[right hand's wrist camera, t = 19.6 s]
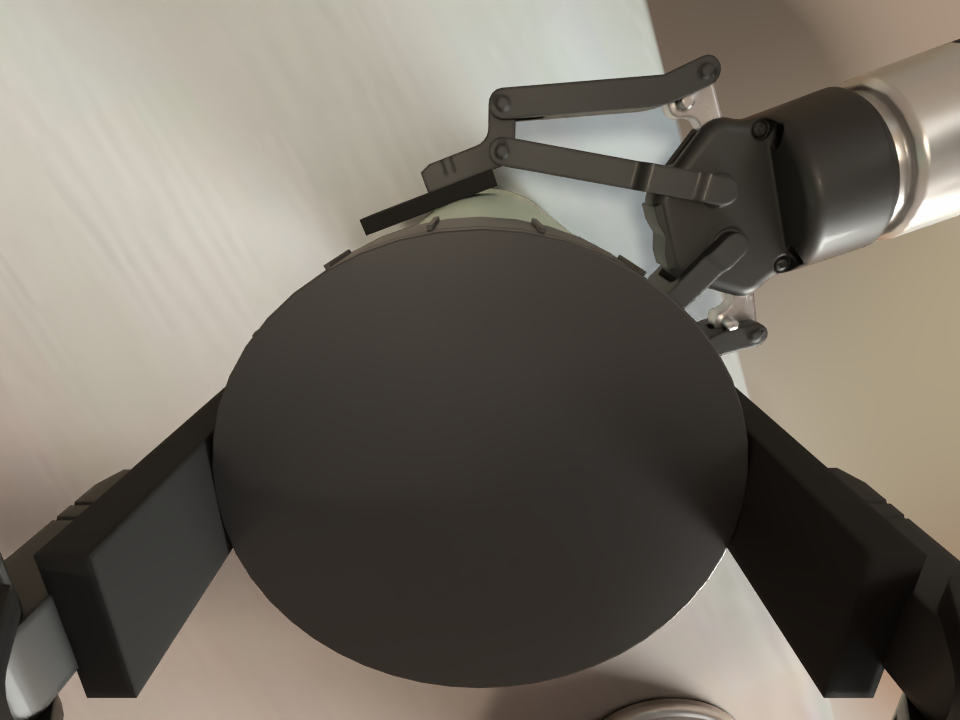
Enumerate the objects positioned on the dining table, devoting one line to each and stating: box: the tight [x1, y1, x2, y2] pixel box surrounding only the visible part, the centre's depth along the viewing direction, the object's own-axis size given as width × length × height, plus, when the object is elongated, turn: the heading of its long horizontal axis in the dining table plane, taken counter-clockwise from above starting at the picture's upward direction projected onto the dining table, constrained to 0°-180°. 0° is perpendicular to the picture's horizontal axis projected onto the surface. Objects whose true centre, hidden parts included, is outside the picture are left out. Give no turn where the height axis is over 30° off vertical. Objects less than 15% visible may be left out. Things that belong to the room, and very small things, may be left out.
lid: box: [212, 216, 748, 688], centre depth 11 cm, size 11×11×2 cm
